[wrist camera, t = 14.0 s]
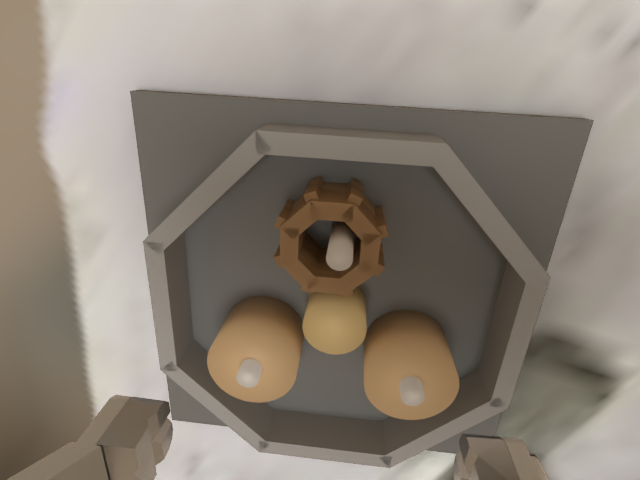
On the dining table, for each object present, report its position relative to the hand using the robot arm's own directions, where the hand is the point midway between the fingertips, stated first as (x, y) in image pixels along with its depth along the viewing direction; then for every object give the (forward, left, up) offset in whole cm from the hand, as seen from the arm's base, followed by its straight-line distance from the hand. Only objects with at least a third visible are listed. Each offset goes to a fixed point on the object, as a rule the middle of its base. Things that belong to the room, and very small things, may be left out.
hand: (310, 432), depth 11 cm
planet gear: (0, 0, -16) cm, 16 cm away
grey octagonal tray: (0, +5, -17) cm, 17 cm away
